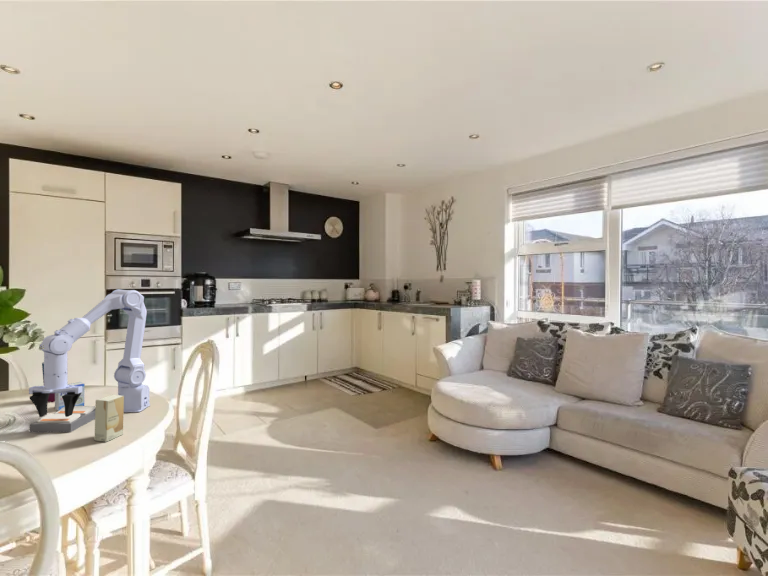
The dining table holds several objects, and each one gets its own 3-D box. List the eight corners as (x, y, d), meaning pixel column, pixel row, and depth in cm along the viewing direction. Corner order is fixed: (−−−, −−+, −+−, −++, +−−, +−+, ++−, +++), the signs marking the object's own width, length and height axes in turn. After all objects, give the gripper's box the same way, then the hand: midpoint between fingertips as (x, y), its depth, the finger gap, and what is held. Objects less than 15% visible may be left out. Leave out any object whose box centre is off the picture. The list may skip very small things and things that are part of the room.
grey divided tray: (101, 415, 137) (101, 408, 136) (70, 432, 122) (70, 423, 122) (64, 415, 135) (64, 408, 135) (29, 432, 121) (29, 424, 120)
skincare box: (106, 442, 115) (106, 401, 115) (93, 441, 116) (94, 400, 115) (124, 434, 121) (124, 395, 121) (112, 432, 122) (112, 394, 122)
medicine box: (57, 411, 139) (58, 387, 139) (54, 409, 142) (54, 385, 142) (84, 406, 145) (85, 383, 145) (80, 403, 148) (81, 381, 148)
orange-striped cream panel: (95, 408, 135) (95, 405, 135) (85, 416, 130) (85, 413, 130) (65, 408, 134) (65, 405, 134) (55, 416, 129) (54, 413, 129)
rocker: (80, 416, 128) (80, 413, 128) (69, 423, 123) (69, 420, 123) (49, 416, 127) (48, 413, 127) (36, 424, 122) (36, 421, 122)
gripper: (20, 376, 118) (20, 420, 119) (71, 376, 120) (71, 420, 120) (38, 370, 125) (39, 412, 126) (86, 370, 127) (86, 412, 127)
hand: (56, 415), depth 123 cm, fingers open, 7 cm apart
